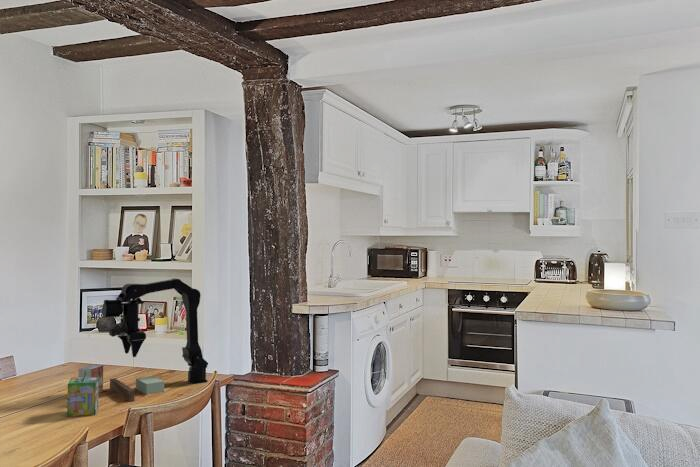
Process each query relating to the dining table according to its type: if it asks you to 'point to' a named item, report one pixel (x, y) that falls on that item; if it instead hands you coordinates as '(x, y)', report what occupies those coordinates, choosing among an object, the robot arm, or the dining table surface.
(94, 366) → the small box
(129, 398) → the walnut board
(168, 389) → the dining table surface
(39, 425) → the dining table surface
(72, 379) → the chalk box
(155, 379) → the sage block
